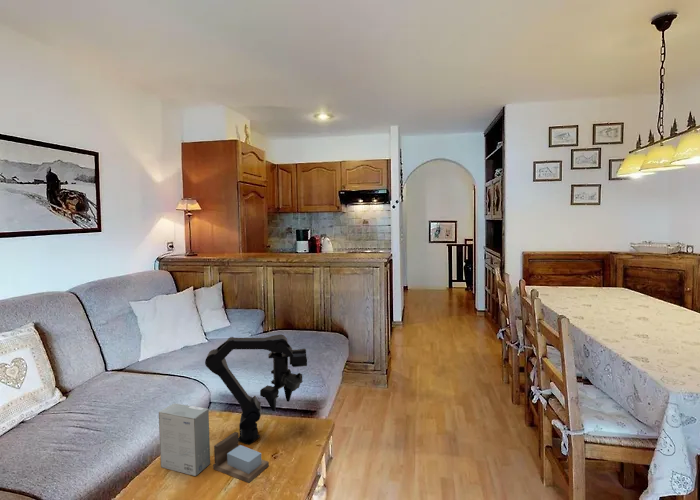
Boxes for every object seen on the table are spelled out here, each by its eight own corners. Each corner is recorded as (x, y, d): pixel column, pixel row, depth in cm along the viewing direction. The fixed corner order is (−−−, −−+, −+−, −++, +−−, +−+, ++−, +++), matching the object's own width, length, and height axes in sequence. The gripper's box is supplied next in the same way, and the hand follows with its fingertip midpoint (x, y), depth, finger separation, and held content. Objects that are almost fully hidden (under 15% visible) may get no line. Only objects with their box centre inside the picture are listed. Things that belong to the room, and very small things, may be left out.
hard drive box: (211, 463, 136) (209, 408, 135) (196, 477, 129) (194, 419, 128) (176, 455, 141) (174, 402, 140) (159, 467, 134) (157, 411, 133)
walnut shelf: (213, 468, 133) (212, 445, 133) (234, 453, 142) (233, 431, 142) (249, 482, 126) (248, 457, 126) (268, 465, 135) (268, 442, 135)
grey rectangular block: (227, 464, 133) (227, 453, 133) (240, 455, 139) (240, 444, 138) (248, 473, 128) (248, 462, 128) (261, 464, 134) (261, 453, 133)
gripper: (282, 379, 141) (283, 421, 142) (310, 363, 158) (311, 400, 159) (258, 374, 146) (259, 414, 147) (288, 359, 163) (288, 395, 164)
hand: (281, 406), depth 154 cm, fingers open, 9 cm apart
